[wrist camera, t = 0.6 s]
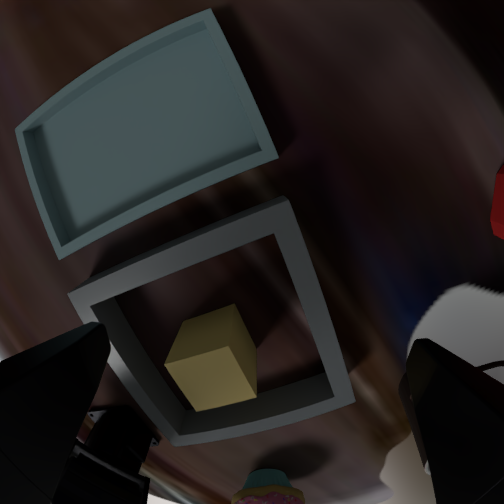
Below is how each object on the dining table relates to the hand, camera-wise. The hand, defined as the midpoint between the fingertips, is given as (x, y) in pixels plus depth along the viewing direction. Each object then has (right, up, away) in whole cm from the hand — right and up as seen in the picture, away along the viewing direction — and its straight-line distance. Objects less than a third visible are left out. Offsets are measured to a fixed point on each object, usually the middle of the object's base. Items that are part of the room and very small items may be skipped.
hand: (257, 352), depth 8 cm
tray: (-9, +11, +12) cm, 18 cm away
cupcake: (+2, -25, +22) cm, 33 cm away
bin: (-3, -4, +16) cm, 16 cm away
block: (-3, -4, +16) cm, 17 cm away
